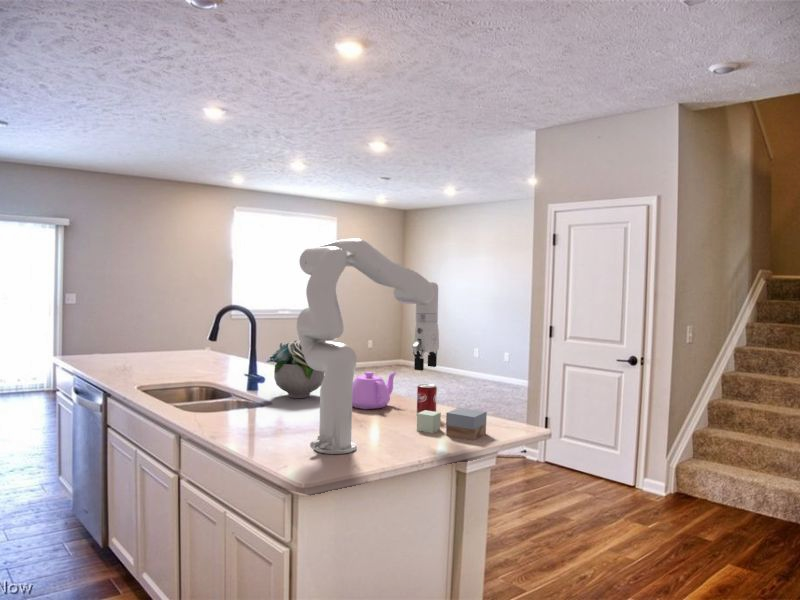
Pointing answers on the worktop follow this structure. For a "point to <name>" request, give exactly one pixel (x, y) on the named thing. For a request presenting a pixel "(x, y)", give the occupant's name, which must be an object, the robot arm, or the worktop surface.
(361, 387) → the teapot
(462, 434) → the block bottom
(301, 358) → the flower arrangement
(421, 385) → the soda can
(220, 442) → the worktop surface
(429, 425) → the sage block
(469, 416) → the block top
